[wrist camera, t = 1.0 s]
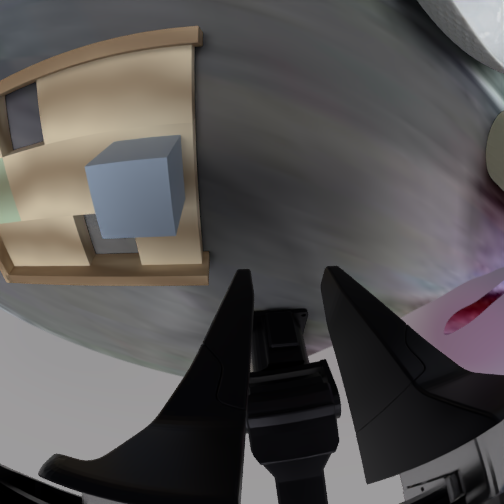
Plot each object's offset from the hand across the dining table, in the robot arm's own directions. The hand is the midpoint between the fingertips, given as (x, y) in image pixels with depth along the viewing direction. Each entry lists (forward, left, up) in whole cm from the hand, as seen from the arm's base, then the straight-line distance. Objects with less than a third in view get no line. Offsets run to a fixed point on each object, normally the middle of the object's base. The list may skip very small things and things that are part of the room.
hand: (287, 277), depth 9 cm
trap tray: (0, +14, -12) cm, 18 cm away
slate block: (0, +7, -10) cm, 13 cm away
